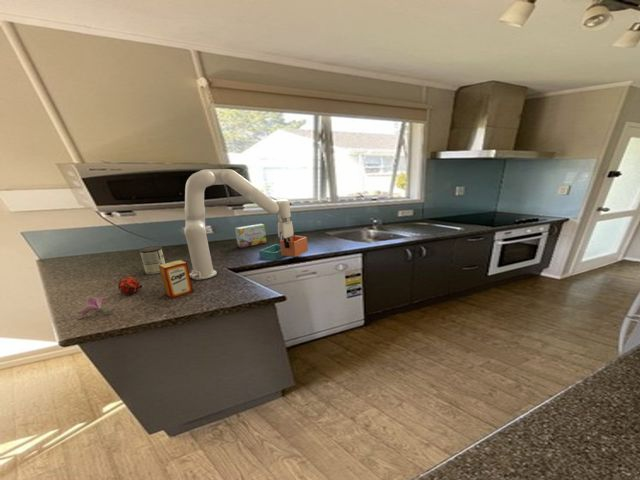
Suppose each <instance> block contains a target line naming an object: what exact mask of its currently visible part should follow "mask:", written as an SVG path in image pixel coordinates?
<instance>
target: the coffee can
mask: <svg viewBox="0 0 640 480" xmlns="http://www.w3.org/2000/svg"><path fill="white" fill-rule="evenodd" d="M138 252H139V254H140V257H141V261H142V264H143V268H144V273H145V274H146V275H155V274H159V273H160V274H161V272H160V269H159V265H162V264H166V262H165V256H164V253H163V248H162V246H161V245H151V246H145V247H142V248H139V250H138Z"/></svg>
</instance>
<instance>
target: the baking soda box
mask: <svg viewBox="0 0 640 480" xmlns="http://www.w3.org/2000/svg"><path fill="white" fill-rule="evenodd" d="M159 269H160V275H161V280H162V284H163V289H164V292H165V295H166V296H167V297H169V298H170V299H174V298H177V297H180V296H184V295H187V294H189V293H193V292H194V289H193V284H192V280H191V279H192V278H191V277H190V275H189V274H190V270H189V265H188V262H187V261H185V260H182V259H179V260H174V261H169V262H167V263H166V262H165V264H162V265H159Z"/></svg>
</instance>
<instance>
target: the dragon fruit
mask: <svg viewBox="0 0 640 480" xmlns="http://www.w3.org/2000/svg"><path fill="white" fill-rule="evenodd" d="M142 288H143V284H141V282H140V281H139V278H138V277H133V276H127V277H126V276H125V277H123V278H122V279H121V280H119V281H118V283H117V289H118V291H120V292H121V293H122V294H125V295H127V296H131V295H132V294H133V293H136V292H138V291H139V289H142Z"/></svg>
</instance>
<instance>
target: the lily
mask: <svg viewBox="0 0 640 480" xmlns="http://www.w3.org/2000/svg"><path fill="white" fill-rule="evenodd" d="M106 293H107V292H104V293H102V294H101V295H100V296H98V297H95V296H89V297H88V298H87V300H86V306H85V307H83V308H82V309H81V310H80V311H79V312H78V313H81V315H80V317H79V319H80V320H81V319H82V318H84V317H85V316H86V315H87V314H89V313H90V312H99V310H101V311H102V312H104V313H105V314H106V315H107V316H108V315H109V314H108V312H106V311H105V310H104V309H103V308H101V306H102V303H103V302H104V301H106V300H107V299H109V298H110V297H109V296H105V295H106Z"/></svg>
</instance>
